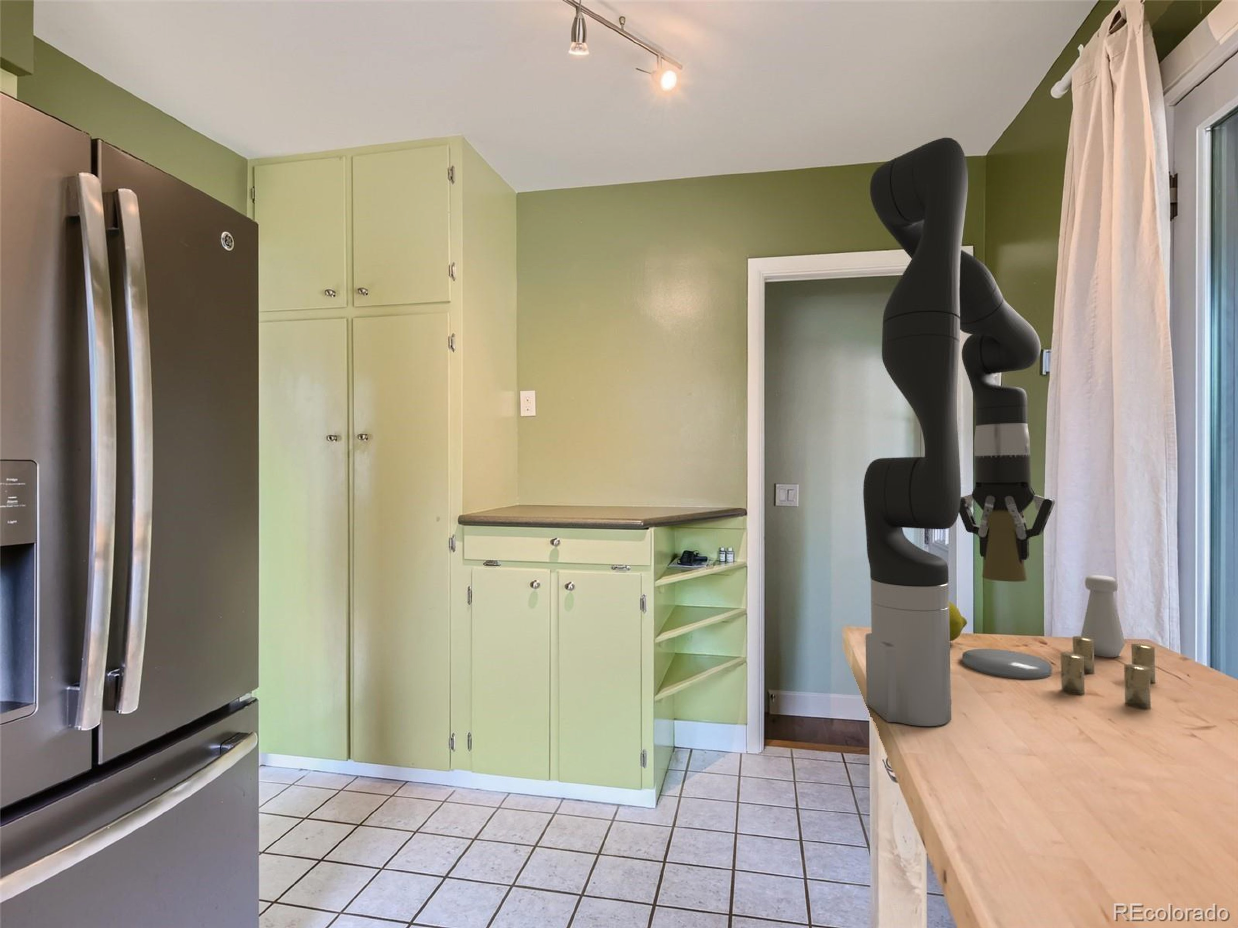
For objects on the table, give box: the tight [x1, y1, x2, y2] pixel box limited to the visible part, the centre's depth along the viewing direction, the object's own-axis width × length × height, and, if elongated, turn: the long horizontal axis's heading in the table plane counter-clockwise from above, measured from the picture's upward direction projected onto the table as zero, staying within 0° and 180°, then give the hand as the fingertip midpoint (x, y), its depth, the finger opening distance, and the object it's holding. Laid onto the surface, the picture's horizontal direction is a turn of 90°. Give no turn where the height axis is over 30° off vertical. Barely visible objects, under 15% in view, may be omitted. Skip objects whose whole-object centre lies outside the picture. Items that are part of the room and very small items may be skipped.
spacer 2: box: [1072, 635, 1095, 675], centre depth 94 cm, size 3×3×5 cm
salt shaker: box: [1080, 574, 1126, 658], centre depth 103 cm, size 6×6×13 cm
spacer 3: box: [1131, 643, 1156, 684], centre depth 90 cm, size 3×3×5 cm
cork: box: [981, 510, 1028, 583], centre depth 97 cm, size 6×6×11 cm
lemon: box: [949, 601, 968, 642], centre depth 111 cm, size 11×8×8 cm
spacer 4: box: [1123, 663, 1152, 710], centre depth 81 cm, size 3×3×5 cm
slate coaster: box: [961, 648, 1053, 680], centre depth 97 cm, size 12×12×1 cm
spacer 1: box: [1060, 652, 1086, 696], centre depth 86 cm, size 3×3×5 cm
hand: (1003, 560), depth 97 cm, fingers closed on cork, 4 cm apart
